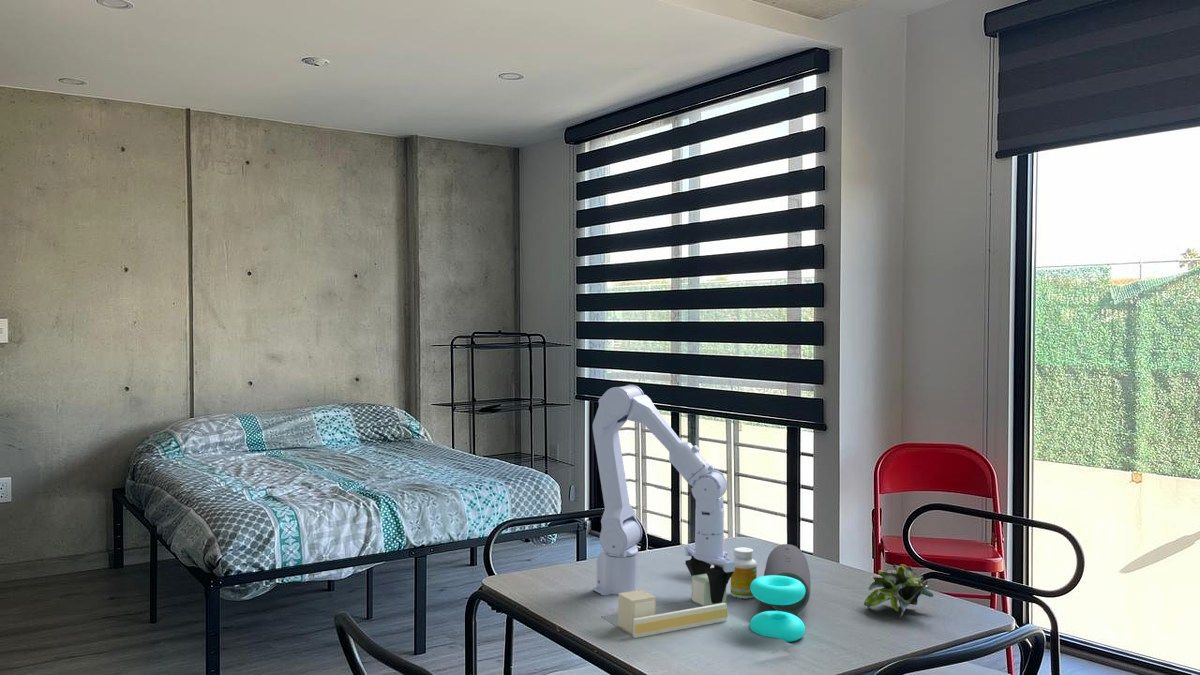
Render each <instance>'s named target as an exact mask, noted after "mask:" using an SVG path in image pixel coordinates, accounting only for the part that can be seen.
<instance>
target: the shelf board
mask: <svg viewBox="0 0 1200 675" xmlns="http://www.w3.org/2000/svg"><path fill="white" fill-rule="evenodd" d="M727 605H728V604H727V602H726V603H720V604H715V605H709V606H703V605H702V606H697V605H695V604H694V603H692V602H690V601H683V602H678V603H673V604H667V605H661V606H660V605H659V606H656V615H652V616H646V617H640V618H634V619H633V634H631V633H629V632H628V631H626V630H625V629H623V628H621V627H620V626H618V613H613V614H606V615H601V616H600V617H601V618H602V619H604V620H606V622H608V623H610V624H612V625H613V626H615V627H616V628H618V629H620V630H621V631H623V632H625V634H627V635H629V636H631V637H633V638H634V639H638V638H643V637H649V636H654V635H661V634H665V633H670V632H675V631H681V630H686V629H691V628H698V627H703V626H708V625H713V624H714V625H715V624H718V623H719V624H720V623H725V622H727V620H728V619H727V618H728V608H727V607H728V606H727Z"/></svg>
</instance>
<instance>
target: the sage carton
mask: <svg viewBox="0 0 1200 675" xmlns="http://www.w3.org/2000/svg"><path fill="white" fill-rule="evenodd" d="M691 600H692V601H693V602H695V603H697V604H699V605H701V606H702V607H703V606H709V605H715V604H713V603H712V601H711V595H710V584H709V579H708V576H707V574H700V575H694V576H692V577H691ZM722 603H726V604H727V588H726V589H725V592H724V596H723V600H722ZM716 604H720V603H716Z"/></svg>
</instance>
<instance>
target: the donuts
mask: <svg viewBox="0 0 1200 675" xmlns="http://www.w3.org/2000/svg"><path fill="white" fill-rule="evenodd" d="M750 590H751V593H752V594H753V596H754V598H755V599H757V600H758V601H761V602H762V603H764V604H768V605H770V604H773V605H790V604H794V603H797V602H799V601H800V600H801V599H802V598H803V597H804V595H805V592H806V590H805V586H804V585H803V584H802V583H801V582H800V581H799V580H797V579H794V578H791V577H787V576H779V575H768V576H764V575H761V576H758V577H756V579H754V580H753V581H752V583H751V585H750ZM749 628H750V629H751V631H752V632H754V633H756V634H757V635H761V636H764V637H770V638H775V639H780V640H782V641H784V642H786V643H791V642H796V641H798V640H800V639H802V638H803V636H804V635H805V632H806V626H805V623H804V622H803V620H802V619H801V618H800V617H798V616H797V615H796V614H791V613H787V612H783V611H776V610H765V611H762V612H760V613H759V612H758V613H757V614H755V615H754V616H753V617H752V618H751V620H750V622H749Z"/></svg>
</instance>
